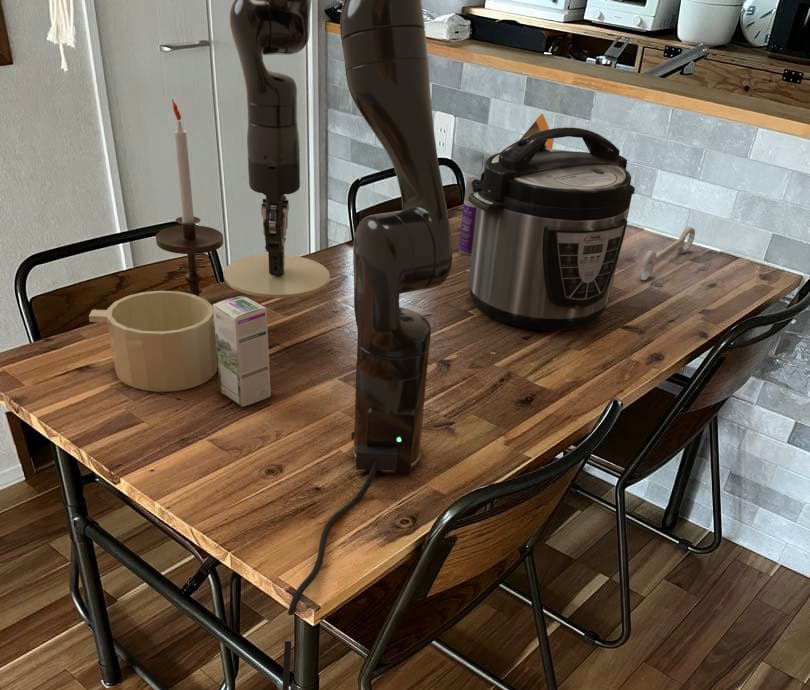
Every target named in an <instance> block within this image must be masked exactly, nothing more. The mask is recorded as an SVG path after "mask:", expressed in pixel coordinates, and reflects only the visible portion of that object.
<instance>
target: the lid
mask: <svg viewBox="0 0 810 690" xmlns="http://www.w3.org/2000/svg"><path fill="white" fill-rule="evenodd" d="M271 243H274V244H279V243H278V242H271ZM283 247H284V248H285V243H284V242H283ZM284 260H285V265H284ZM222 276H223V280H224V282H225V284H226V285H227V286H229V288H231V289H233V290H235V291H236V292H240V293H242V294H245V295H248V296H254V297H259V298H267V299H291V298H300V297H305V296H309V295H312V294H315V293H317V292H320V291H322V290H323V289H325V288H326V287H327V286H328V285H329V283H330V281H331V275H330V272H329V270H328V268H326V267H325V266H324V265H322V264H321V263H319V262H318V261H315V260H312V259H310V258H306V257H302V256H299V255H298V256H296V255H292V254H291V255H290V254H285V249H284V250H283V275H281V276H278V275H270V273H269V256H268V254H257V255H251V256H244V257H242V258H238V259H236V260H234V261H232V262H230V263H229V264H228V265H226V267H224V270H223V273H222Z"/></svg>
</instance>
